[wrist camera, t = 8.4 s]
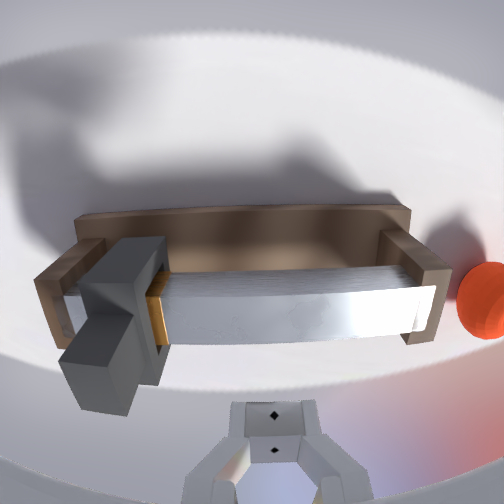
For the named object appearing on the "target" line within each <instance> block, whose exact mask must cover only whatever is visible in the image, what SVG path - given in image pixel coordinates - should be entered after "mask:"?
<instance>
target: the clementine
mask: <svg viewBox="0 0 504 504" xmlns="http://www.w3.org/2000/svg"><path fill="white" fill-rule="evenodd" d="M456 306H457V312H458V316H459V319H460V321H461V323H462V325H463V326H464V328H465V329H466V330H467V331H468V332H470V333H471V334H472V335H473V336H476V337H478V338H482V339H497V338H499V337H502V336H503V335H504V264H502V263H499V262H486V263H482V264H480V265H478V266H476V267H474V268H473V269H471V270H470V271H469V272H468V273H467V274H466V276H465V277H464V278H463V280H462V282H461V284H460V286H459V289H458V294H457V300H456Z"/></svg>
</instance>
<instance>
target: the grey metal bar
mask: <svg viewBox="0 0 504 504" xmlns="http://www.w3.org/2000/svg"><path fill="white" fill-rule="evenodd" d="M86 274H87V273H84V274H83V275H82V277H81V278H80V279H79V280H78V281H77V282H76V283H75V284H74V285H73V286H72V287H71V288H70V289H69V290H68V291H67V292H66V293H65V295H64V300H65V303H66V305H65V306H67V310H68V312H67V313H66V314H68V313H69V315H68V317H69V316H70V317H69V318H70V319H71V321H69V323H72V325H73V329H74V330H72V331H75V333H74V334H77V333H78V331H79V330H80V328H81V327H82V326H83V324H84V323H85V321H86V320H87V319H88V318H87V314H86V311H85V308H84V304H83V301H82V297H81V294H80V290H79V286H78V282H79V281H80V280H81V279H82V278H83V277H84V276H85V275H86ZM432 287H433V288H432ZM432 287H431V290H432V291H431V292H432V293H433V295H434V292H433V289H435V286H432ZM421 288H424V287H420V285H419V284H418V283H417V282H416V281H415V280H414V279H413V278H412V277H411V276H410V275H409V274H408V273H407V272H406V270H405V269H404V268H403V267H402V266H401V265H392V266H370V267H346V268H319V269H290V270H257V271H219V272H172V271H161V272H157V273H156V275H155V277H154V278H153V280H152V282H151V284H150V285H149V287H148V289H147V291H146V293H145V297H146V302H147V307H148V312H149V317H150V321H151V326H152V331H153V335H154V339H155V344H156V345H169V344H189V345H235V344H272V343H294V342H312V341H326V340H339V339H351V338H361V337H371V336H381V335H389V334H398V333H406V332H411V328H412V324H413V320H414V319H415V318H416V317H414V316H415V312H416V308H417V305H418V303H419V302H418V300H419V299H420V298H419V295H420V292H421V291H422V290H423V289H422V290H421ZM426 288H427V287H426ZM426 288H424V289H425V291H427V290H428V289H427V290H426ZM428 288H429V290H430V287H428ZM429 290H428V291H429ZM425 291H422V293H423V292H425ZM429 292H430V291H429ZM431 292H430V293H431ZM430 293H429V294H428V293H427V294H426V296H429V295H430V296H431V294H430ZM422 296H423V297H424V294H423V295H422ZM422 296H421V297H422ZM423 297H422V298H423ZM432 297H433V296H432ZM432 297H430V298H431V300H432V299H433V298H432ZM51 298H52V297H51ZM428 299H429V297H428ZM428 299H427V297H426V299H425V300H426V301H425V302H424V303H427V305H425V306H427V307H426V308H428V309H429V308H430V307H431V306H429V305H430V304H431V303H432V301H430V299H429V300H428ZM55 300H56V299H55ZM60 300H61V299H60ZM56 301H57V300H56ZM423 301H424V299H423ZM427 301H428V302H429V303H428V302H427ZM53 302H55V301H53ZM59 302H62V301H59ZM430 302H431V303H430ZM424 303H423V304H424ZM60 304H62V303H60ZM60 304H59V305H60ZM428 304H429V305H428ZM56 305H58V304H56ZM63 305H64V304H63ZM419 305H421V303H420V304H419ZM61 306H62V305H61ZM422 306H423V305H422ZM422 306H420V307H422ZM425 306H424V307H425ZM428 306H429V307H428ZM420 307H419V308H420ZM63 308H64V307H63ZM419 308H418V309H419ZM58 309H59V307H58ZM421 309H422V308H420V309H419V310H418V311H419V312H420V310H421ZM56 310H57V308H56ZM59 310H61V309H59ZM63 310H65V309H63ZM423 310H424V309H423ZM423 310H422V311H423ZM57 311H58V310H57ZM61 311H62V310H61ZM61 311H58V312H59V315H61V314H60V312H61ZM418 311H417V312H418ZM429 311H430V310H428V312H427V310H426V309H425V313H426V312H427V315H429V314H428V313H429ZM422 313H423V312H422ZM64 314H65V313H64ZM66 314H65V315H66ZM56 315H58V314H57V313H56ZM59 315H58V316H57V317H59ZM416 315H417V313H416ZM418 315H420V314H418ZM425 315H426V314H425ZM62 316H64V315H62ZM422 316H423V317H424V313H423V315H422ZM420 317H421V316H420ZM425 317H426V319H425V318H424V319H423V318H421V319H422V320H423V324H422V323H421V324H420V325H421V327H422V325H423V327H425V326H426V325H425V326H424V324H425V323H426V322H427V321H425V322H424V320H427V317H428V316H425ZM60 318H62V317H60ZM66 318H67V316H66ZM417 318H419V317H418V316H417ZM417 318H416V319H417ZM58 319H59V318H58ZM421 319H419V320H420V322H421ZM63 320H64V319H63ZM65 320H67V319H65ZM417 320H418V319H417ZM417 320H416V321H417ZM59 321H60V320H59ZM67 321H68V320H67ZM414 321H415V320H414ZM61 322H62V319H61ZM64 322H65V321H64ZM62 323H63V322H62ZM414 323H415V322H414ZM417 323H418V322H417ZM65 324H66V323H65ZM67 324H68V323H67ZM67 324H66V325H67ZM63 325H64V324H63ZM63 325H62V326H63ZM413 325H414V324H413ZM418 325H419V324H417V326H418ZM69 326H70V325H69ZM419 327H420V326H418V328H419ZM421 327H420V328H421ZM423 327H422V329H423ZM62 328H63V327H62ZM62 328H61V329H62ZM66 328H69V327H66ZM70 328H72V327H70ZM420 328H419V329H420ZM63 329H65V327H64V328H63ZM422 329H420V330H422ZM424 329H425V328H424ZM65 330H66V329H65ZM70 330H71V329H70ZM414 330H416V329H414ZM417 330H418V329H417ZM63 331H64V330H63ZM68 331H69V329H68ZM72 331H71V332H72ZM418 331H419V330H418ZM66 333H67V334H68V332H66ZM66 333H65V334H66ZM63 334H64V332H63ZM74 334H73V336H74V337H75V335H74ZM68 335H69V334H68ZM68 335H67V336H68ZM73 336H72V335H71V336H70V335H69V336H68V337H72V338H73ZM64 337H66V335H64Z"/></svg>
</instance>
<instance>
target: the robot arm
mask: <svg viewBox="0 0 504 504" xmlns="http://www.w3.org/2000/svg"><path fill="white" fill-rule="evenodd" d="M272 462H297V463H298V464H299V466H300V467H301V468H302V469H303V471H304V472H305V473H306V474H307V475H308V477H309V478H310V479H311V480H312V481H313V482H314V484H315V485H316V486H317V487H318V490H317V492H316V495H315V498H314V501H313V503H312V504H504V456H503V457H501V458H499V459H497V460H495V461H493V462H490V463H488V464H486V465H483V466H481V467H479V468H476V469H474V470H471V471H469V472H466V473H464V474H461V475H458V476H455V477H453V478H450V479H447V480H444V481H442V482H438V483H435V484H432V485H428V486H425V487H422V488H418V489H415V490H411V491H407V492H403V493H399V494H395V495H391V496H387V497H382V498H378V499H374V497H373V493H372V488H371V484H370V480H369V476H368V472H367V470H366V469H365V468H364V467H363V466H361V465H360V464H359V463H358V462H357V461H356V460H354V459H353V458H352V457H351V456H350V455H349V454H348V453H346V452H345V451H344V450H343V449H342V448H341V447H340V446H339V445H338V444H336V443H335V442H334V441H333V440H332V439H331V438H330V437H329V436H328V435H327V434H322V432H321V427H320V421H319V416H318V410H317V405H316V401H315V400H303V401H302V400H301V401H300V400H298V401H282V402H232V403H231V410H230V422H229V436H228V437H224V438H223V439H222V440H221V441H220V442H219V443H218V444H217V445H216V446H215V447H214V449H212V451H211V452H210V453H209V454H208V455H207V456H206V457H205V458H204V459H203V460H202V461H201V462H200V463H199V464H198V465H197V466H196V467H195V468H194V469H193V470H192V471H191V472H190V473H189V474H188V475H187V476H186V477H185V483H184V488H183V494H182V501H181V504H238V502H237V497H236V490H235V485H236V484H237V482H238V481H239V480H240V478H241V477H242V476H243V474H244V473H245V472H246V470H247V469H248V467H249V466H250V465H251V463H272ZM0 504H156V503H150V502H144V501H139V500H134V499H128V498H124V497H119V496H115V495H111V494H107V493H103V492H99V491H95V490H92V489H88V488H84V487H81V486H78V485H75V484H72V483H68V482H65V481H62V480H59V479H57V478H54V477H51V476H48V475H45V474H43V473H40V472H38V471H35V470H33V469H30V468H28V467H25V466H23V465H21V464H18V463H16V462H14V461H11V460H9V459H7V458H5V457H3V456H1V455H0Z"/></svg>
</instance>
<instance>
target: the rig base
mask: <svg viewBox="0 0 504 504" xmlns="http://www.w3.org/2000/svg"><path fill="white" fill-rule="evenodd" d="M410 219H411V209H409V208H407V207H406V206H404V205H377V204H293V205H247V206H218V207H194V208H174V209H156V210H140V211H125V212H112V213H99V214H87V215H82V216H80V217H78V218H77V219H75V220H74V224H75V229H76V234H77V240H78V243H77V244H76V245H74V246H73V247H72V248H71V249H69V250H68V251H67V252H66V253H64V254H63V255H62V256H61V257H60V258H58V259H57V260H56V261H55V262H54V263H52V264H51V265H50V266H49V267H48V268H47V269H45V270H44V271H43V272H42V273H41V274H40V275H38V276H37V277H36V278H35V279H34V283H35V286H36V290H37V293H38V296H39V299H40V302H41V305H42V308H43V311H44V314H45V317H46V320H47V322H48V325H49V328H50V331H51V333H52V336H53V338H54V341H55V343H56V346H57V348H58V349H67V347H68V346H69V344H70V343H71V341H72V340H73V338H74V336H73V334H74V333H75V331H72V330H74V329H73V325H72V323H69V321H71V319H70V318H69V317H70V316H69V317H68V315H69V313H68V314H66V313H67V312H68V310H67V306H65V305H66V303H65V300H64V295H65V293H66V292H67V291H68V290H69V289H70V288H71V287H72V286H73V285H74V284H75V283H76V282H77V281H78V280H79V279H80V278H81V277H82V275H83V274H84V273H88V272H89V271H90V270H91V269H92V267H93V266H94V265H95V264H96V263H97V262H98V261H99V260H100V259H101V258H102V257H103V256H104V255H105V254H106V253H107V252H108V251H109V250H110V249H111V248H112V247H113V246H114V245H115V244H116V243H117V242H118V241H119V240H120V239H121V238H131V237H154V236H166V244H167V252H168V259H169V267H170V271H172V272H219V271H257V270H290V269H319V268H346V267H370V266H392V265H401V266H402V267H403V268H404V269H405V270H406V272H407V273H408V274H409V275H410V276H411V277H412V278H413V279H414V280H415V281H416V282H417V283H418V284H419V285H420V287H424V288H426V287H427V288H426V290H427V289H428V290H429V288H428V287H430V290H429V291H430V292H431V291H432V290H431V287H432V286H435V289H433V292H434V295H433V293H432V292H431V293H430V292H429V291H428V290H427V291H425V289H424V288H421V290H422V289H423V290H422V291H425V292H423V293H422V291H421V292H420V295H419V298H420V299H419V300H418V302H419V303H418V305H417V308H416V312H415V316H414V317H416V318H417V316H418V317H419V318H417V319H418V320H417V319H416V318H415V319H414V320H415V321H414V320H413V324H414V325H413V324H412V328H411V332H406V333H400V335H401V337H402V338H403V340H404V341H405V343H406V345H411V344H418V343H424V342H430V341H433V340H434V337H435V334H436V331H437V327H438V324H439V321H440V317H441V314H442V310H443V307H444V303H445V299H446V295H447V291H448V287H449V283H450V279H451V274H452V270H453V269H452V268H451V267H450V266H449V265H447V264H446V263H445V262H444V261H443V260H441V259H440V258H439V257H438V256H436V255H435V254H434V253H433V252H432V251H430V250H429V249H428V248H427V247H425V246H424V245H423V244H422V243H420V242H419V241H418V240H416V239H415V238H414V237H413V236H411V235H410V234H409V228H410ZM432 288H433V287H432ZM427 293H428V294H429V293H430V294H431V296H430V295H429V296H426V294H427ZM423 294H424V297H423V296H422V295H423ZM421 296H422V297H423V298H422V297H421ZM432 296H433V297H432ZM51 297H52V298H51ZM426 297H427V299H428V297H429V299H430V301H432V303H431V302H430V303H431V304H430V305H429V304H428V305H429V306H431V307H430V308H429V309H428V308H426V307H427V306H425V305H427V303H424V302H425V301H426V300H425V299H426ZM430 297H432V298H433V299H432V300H431V298H430ZM55 299H56V300H57V301H56V300H55ZM60 299H61V300H60ZM423 299H424V301H423ZM429 299H428V300H429ZM53 301H55V302H53ZM59 301H62V302H59ZM427 302H428V301H427ZM60 303H62V304H60ZM420 303H421V305H419V304H420ZM423 303H424V304H423ZM428 303H429V302H428ZM56 304H58V305H56ZM59 304H60V305H59ZM63 304H64V305H63ZM61 305H62V306H61ZM422 305H423V306H422ZM420 306H422V307H420ZM424 306H425V307H424ZM429 306H428V307H429ZM58 307H59V309H61V310H62V311H61V310H59V309H58ZM63 307H64V308H63ZM419 307H420V308H422V309H421V310H420V312H419V311H418V310H419V309H420V308H419ZM56 308H57V310H58V311H61V312H60V314H61V315H59V312H58V311H57V310H56ZM418 308H419V309H418ZM63 309H65V310H63ZM423 309H424V310H423ZM425 309H426V310H427V312H428V310H430V311H429V313H428V314H429V315H427V312H426V313H425ZM422 310H423V311H422ZM417 311H418V312H417ZM422 312H423V313H424V317H423V316H422V315H423V313H422ZM56 313H57V314H58V315H59V317H57V316H58V315H56ZM64 313H65V314H66V315H65V314H64ZM416 313H417V315H416ZM418 314H420V315H418ZM425 314H426V315H425ZM62 315H64V316H62ZM66 316H67V318H66ZM420 316H421V317H420ZM425 316H428V317H427V320H424V322H425V321H427V322H426V323H425V324H424V326H425V325H426V326H425V327H423V325H422V327H423V329H422V327H421V325H420V324H421V323H422V324H423V320H422V319H421V318H423V319H424V318H425V319H426V317H425ZM60 317H62V318H60ZM58 318H59V319H58ZM61 319H62V322H63V323H62V322H61ZM63 319H64V320H63ZM65 319H67V320H68V321H67V320H65ZM419 319H421V322H420V320H419ZM59 320H60V321H59ZM416 320H417V321H416ZM64 321H65V322H64ZM414 322H415V323H414ZM417 322H418V323H417ZM65 323H66V324H67V323H68V324H67V325H66V324H65ZM63 324H64V325H63ZM417 324H419V325H418V326H420V327H421V328H420V327H419V328H420V329H422V330H420V329H419V328H418V326H417ZM62 325H63V326H62ZM69 325H70V326H69ZM62 327H63V328H64V327H65V329H66V330H65V329H63V328H62ZM66 327H69V328H66ZM70 327H72V328H70ZM61 328H62V329H61ZM424 328H425V329H424ZM68 329H69V331H68ZM70 329H71V330H70ZM414 329H416V330H414ZM417 329H418V330H419V331H418V330H417ZM63 330H64V331H63ZM71 331H72V332H71ZM63 332H64V334H63ZM66 332H68V334H69V335H70V336H71V335H72V336H73V338H72V337H68V336H69V335H68V334H67V333H66ZM65 333H66V334H65ZM64 335H66V337H64ZM67 335H68V336H67ZM74 335H75V336H76V334H74Z"/></svg>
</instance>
